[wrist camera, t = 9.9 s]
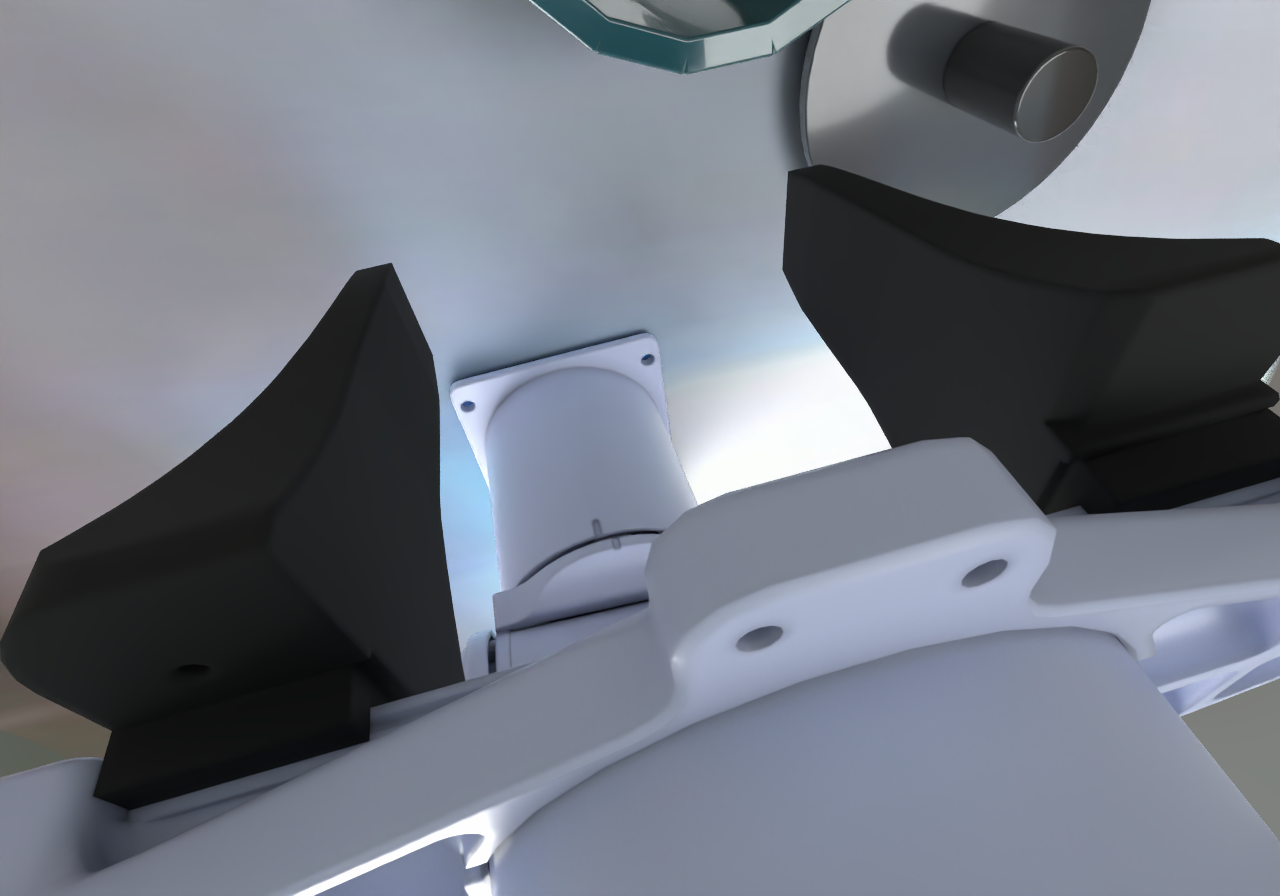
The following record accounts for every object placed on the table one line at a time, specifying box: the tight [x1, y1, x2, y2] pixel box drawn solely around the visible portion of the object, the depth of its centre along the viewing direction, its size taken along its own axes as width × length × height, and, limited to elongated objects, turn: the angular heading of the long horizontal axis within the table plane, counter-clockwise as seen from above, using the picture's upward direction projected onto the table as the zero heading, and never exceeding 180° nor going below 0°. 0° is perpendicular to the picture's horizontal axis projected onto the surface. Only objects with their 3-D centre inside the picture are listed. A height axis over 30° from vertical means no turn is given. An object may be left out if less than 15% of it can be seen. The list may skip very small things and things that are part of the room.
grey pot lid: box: [799, 0, 1151, 217], centre depth 20 cm, size 11×11×5 cm
